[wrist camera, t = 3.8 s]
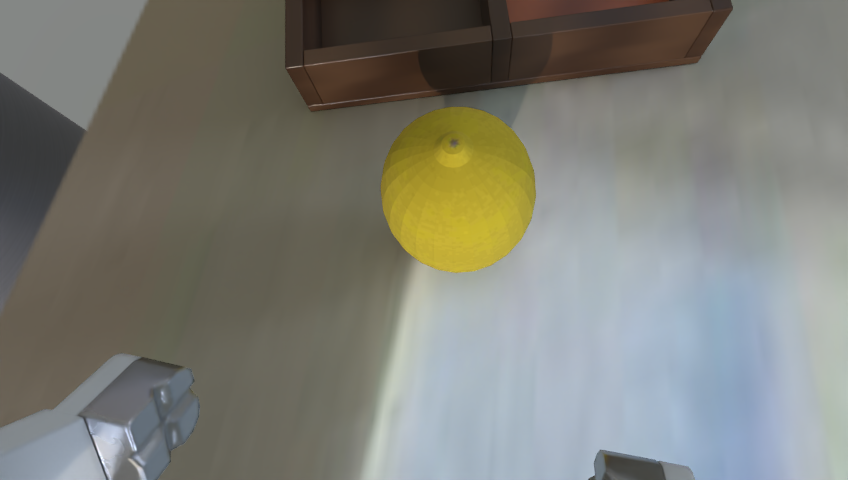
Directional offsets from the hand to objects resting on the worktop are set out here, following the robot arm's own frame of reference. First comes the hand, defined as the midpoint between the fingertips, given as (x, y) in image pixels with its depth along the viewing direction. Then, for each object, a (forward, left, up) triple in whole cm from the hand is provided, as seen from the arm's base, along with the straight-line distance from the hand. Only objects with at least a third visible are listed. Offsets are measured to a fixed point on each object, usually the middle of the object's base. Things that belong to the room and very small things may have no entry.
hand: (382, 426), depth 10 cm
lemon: (+2, +7, -11) cm, 13 cm away
